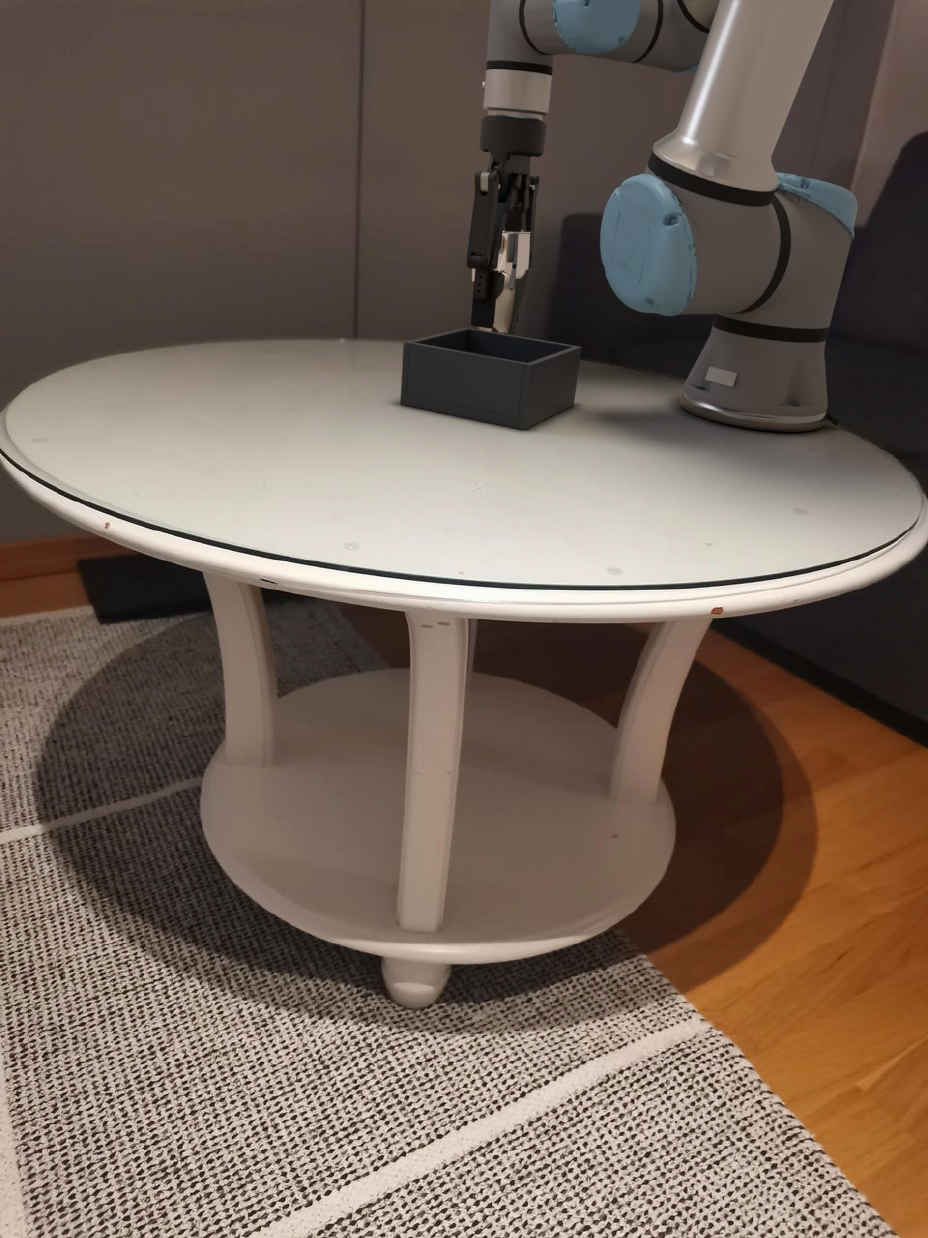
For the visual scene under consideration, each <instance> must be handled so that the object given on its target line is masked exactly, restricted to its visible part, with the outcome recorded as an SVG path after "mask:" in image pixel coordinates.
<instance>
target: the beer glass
mask: <svg viewBox="0 0 928 1238" xmlns="http://www.w3.org/2000/svg"><path fill="white" fill-rule="evenodd" d="M530 234H531V232H530V231H527V230H521V232H513V231H505V228H504V231H502V240H501V245H500V249H499V253H498V257H497V262H496V266H495V270H494V271H497V272H498V281H497V292H496V302H495V313H494V323H493V328H491V329H489V328H483V327H477V326H473V329H479V330H485V331H491V332H497V333H503V334H508V335H514V336H516V328H517V322H516V321H517V317H518V313H519V314H520V310H521V306H522V303H523V298H524V295H525V291H526V286H527V283H528V276H529V269H530V268H529V258H530ZM470 276H471V295H472V296H471V297H472V298H473V290H474V279H475V269H472V268H471V273H470ZM518 318H519V317H518Z"/></svg>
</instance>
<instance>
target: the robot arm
mask: <svg viewBox="0 0 928 1238" xmlns="http://www.w3.org/2000/svg"><path fill="white" fill-rule="evenodd" d="M833 3H834V0H490V5H489V18H488V19H489V20H488V21H489V22H488V33H487V34H488V35H487V48H486V49H487V50H486V67H485V70H486V71H485V79H484V81H482V84H481V88H482V90H483V101H482V102H483V103H482V108H483V110H484V111H487V115H484V116H483V118H481V121H480V135H479V149H480V151H481V152H483V153H490V157H489V162H488V165H487V168H486V169H487V170H486V171H482V170H481V171H480V170H476V171H475V173H474V197H473V206H472V211H471V219H470V220H471V221H470V228H469V235H468V245H467V253H466V266H467V269H471V270H472V269H475V279H474V290H473V297H472V303H471V316H470V326H473V327H474V326H477V327H483V328H489V329H491V328H493V323H494V313H495V302H496V292H497V281H498V272H497V271H494V270H495V266H496V262H497V257H498V253H499V249H500V245H501V240H502V231H504V228H505V231H513V232H521V230H527V231H530V232H531V234H530V258H529V269H531V268H532V266H533V256H534V243H535V228H536V215H537V214H536V213H537V198H538V193H539V189H540V188H539V187H540V182H541V177H540V175H535V174H531V157H532V158H540V157H542V156H543V155H544V152H545V145H546V144H545V143H546V135H547V124H546V122H545V121H543V118H544V117H546V116H548V115H549V114H550V113H549V112H550V102H551V101H550V100H551V93H552V81H553V71H554V61H555V56H558V55H559V56H564V55H566V56H567V55H573V56H574V55H575V56H584V57H589V58H597V59H601V60H608V61H613V62H614V61H615V62H620V63H628V64H629V63H630V64H633V65H638V66H644V67H649V68H655V69H659V70H664V71H667V72H672V73H677V74H678V73H680V74H682V73H695V74H694V78H693V80H692V83H691V86H690V89H689V92H688V95H687V98H686V101H685V104H684V106H683V110H682V113H681V115H680V118H679V121H678V125H677V127H676V128H675V129H674V130H673V131H672V132H670V133H669V134H667V135H665V136H663V137H662V138H660V139H659V140H657V141H656V142H654V144H653V147H652V149H651V152H650V155H649V157H648V160H647V161H648V162H647V165H646V167H645V170H644V173H640V174H637V175H633V176H631V177H629V178H626V179H625V180H624V181H623V182H622V183H621V184H620V186H617V187H616V188H615V189H614V190H613V192H612V193H611V195H610V197H609V198H608V201H607V203H606V205H605V209H604V212H603V215H602V220H601V224H600V225H601V226H600V233H599V234H600V236H599V248H600V257H601V262H602V265H603V266H604V271H605V272H604V273H605V277H606V279H607V282H608V284H609V286H610V288H611V290H612V291H613V293H614V295H615V296H616V297H617V299H619V300H620V302H621V303H623V304H624V305H625V306H627V307H628V308H630V309H632V310H634V311H636V312H640V313H645V314H658V315H660V316H664V317H675V316H678V315H714V316H713V320H712V326H711V330H710V333H709V335H708V336H709V337H708V338H707V340H706V342H705V344H704V346H703V347H702V350H701V352H700V354H699V355H698V357H697V359H696V361H695V364H693V366H692V369H691V370H690V372H689V374H688V376H687V378H686V380H685V382H684V384H683V386H682V390H681V396H680V401H679V404H680V406H681V407H682V408H683V409H684V410H686V411H687V412H689V413H691V414H693V415H695V416H698V417H701V418H704V419H707V420H711V421H714V422H717V423H722V424H726V425H729V426H730V425H731V426H736V427H741V428H745V429H746V428H747V429H752V430H753V429H754V430H762V431H773V432H791V433H792V432H793V433H794V432H796V433H797V432H808V431H814V430H815V431H816V430H818V429H821V428H822V427H823V426H824V425H825V422H826V419H827V420H829V421H830V422H831V423H832V424H833V425H834V426H839V424H840V423H841V422H842V421H843V420H842V419H841V418H840V417H839V416H838V415H837V414H836V413H835V412H834V411H832V410H831V409H830V408H829V407H828V404H829V402H828V386H827V375H826V374H827V373H826V359H825V348H826V343H827V339H828V334H829V330H830V327H831V323H832V319H833V315H834V311H835V306H836V303H837V299H838V296H839V291H840V287H841V283H842V280H843V275H844V272H845V267H846V265H847V261H848V256H849V252H850V247H851V245H852V243H853V241H854V239H855V230H854V229H855V225H856V219H857V214H858V206H859V205H858V200H857V197H856V196H855V195H854V193H853V192H852V191H850V190H849V189H847V188H845V187H843V186H840V185H837V184H834V183H831V182H828V181H824V180H820V179H816V178H810V177H809V178H808V177H807V178H806V177H804V176H800V175H796V174H791V173H785V172H777V171H775V168H774V165H773V163H772V155H773V153H774V150H775V148H776V145H777V143H778V140H779V138H780V135H781V133H782V130H783V128H784V126H785V123H786V122H787V121H786V120H787V118H788V116H789V114H790V111H791V108H792V105H793V103H794V100H795V98H796V96H797V93H798V91H799V88H800V86H801V84H802V81H803V78H804V76H805V73H806V71H807V68H808V65H809V63H810V61H811V58H812V56H813V53H814V51H815V48H816V46H817V43H818V40H819V38H820V35H821V33H822V31H823V28H824V25H825V23H826V22H827V18H828V15H829V13H830V10H831V8H832V6H833ZM519 315H520V312H519V313H518V317H517V321H516V323H518V322H519V317H520V316H519Z"/></svg>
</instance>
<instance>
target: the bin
mask: <svg viewBox="0 0 928 1238" xmlns="http://www.w3.org/2000/svg"><path fill="white" fill-rule="evenodd" d="M582 349H583V347H582V346H579V345H572V344H568V343H567V344H566V343H561V342H555V341H549V340H544V339H537V338H532V337H526V336H520V335H515V336H514V335H508V334H503V333H497V332H491V331H485V330H479V329H473V328H472V327H467V326H465V327H461V328H457V329H453V330H449V331H445V332H441V333H436V334H432V335H428V336H424V337H419V338H416V339H411V340H408V341H404V342H403V348H402V365H401V367H402V368H401V382H400V383H401V384H400V402H399V404H400V405H401V406H402V405H403V406H408V407H412V408H416V409H421V410H426V411H431V412H436V413H442V414H445V415H446V414H447V415H451V416H456V417H459V418H466V419H470V420H474V421H479V422H484V423H489V424H494V425H499V426H504V427H509V428H513V429H517V430H521V431H522V430H523V431H525V430H527V429H529V428H531V427H532V426H534V425H536V424H539V423H541V422H543V421H545V420H546V419H550V418H551V417H552V416H554V415H556V414H559V413H560V412H562V411H565V410H567V409H569V408H571V407H573V406H574V405H575V401H576V400H575V399H576V393H577V385H578V379H579V370H580V362H581V357H582V356H581V355H582Z"/></svg>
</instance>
